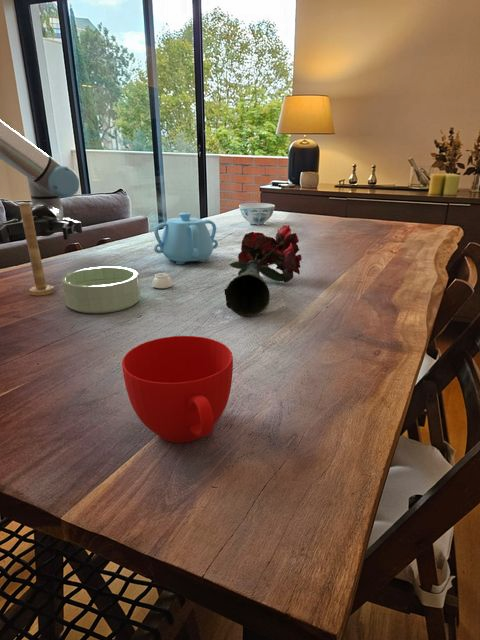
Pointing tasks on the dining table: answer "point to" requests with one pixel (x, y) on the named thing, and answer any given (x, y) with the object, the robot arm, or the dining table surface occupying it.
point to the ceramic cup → (179, 385)
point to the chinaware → (256, 212)
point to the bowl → (101, 289)
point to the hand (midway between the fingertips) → (33, 235)
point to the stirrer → (34, 252)
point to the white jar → (162, 281)
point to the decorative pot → (186, 239)
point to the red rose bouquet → (261, 270)
